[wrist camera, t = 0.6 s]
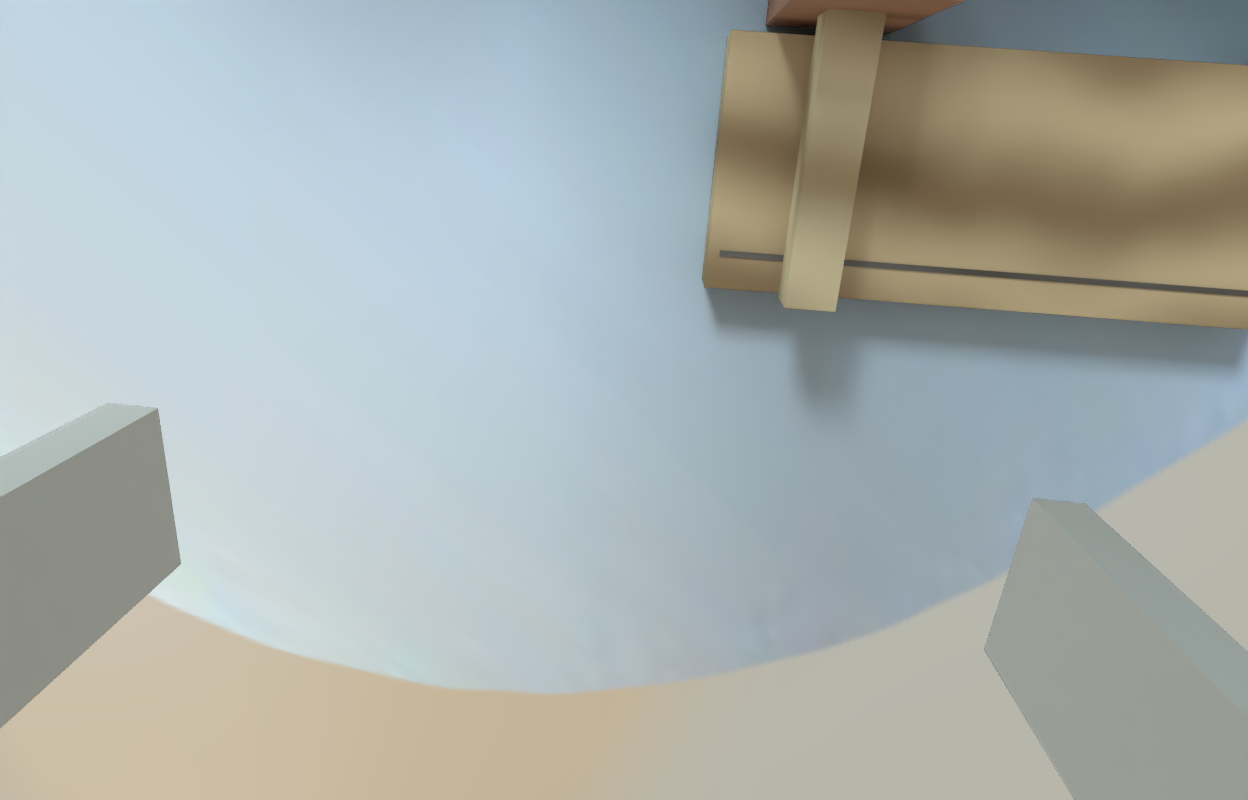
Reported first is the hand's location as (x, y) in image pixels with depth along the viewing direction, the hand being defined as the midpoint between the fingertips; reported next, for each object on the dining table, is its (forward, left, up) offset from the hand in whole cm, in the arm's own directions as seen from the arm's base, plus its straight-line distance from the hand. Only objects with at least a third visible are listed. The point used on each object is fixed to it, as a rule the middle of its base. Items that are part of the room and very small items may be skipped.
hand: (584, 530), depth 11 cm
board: (-5, +15, -24) cm, 28 cm away
